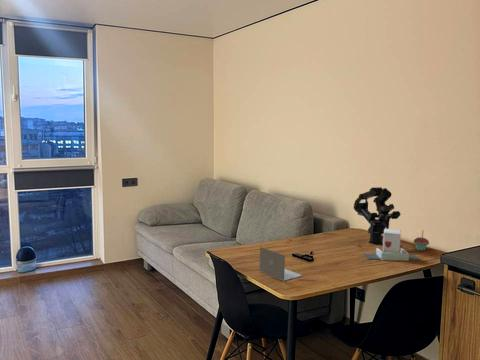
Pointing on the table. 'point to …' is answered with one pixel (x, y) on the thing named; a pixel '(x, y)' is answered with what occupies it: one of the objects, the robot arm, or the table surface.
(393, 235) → the supplement box
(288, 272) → the laptop
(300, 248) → the table surface
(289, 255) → the table surface
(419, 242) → the cupcake
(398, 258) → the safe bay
